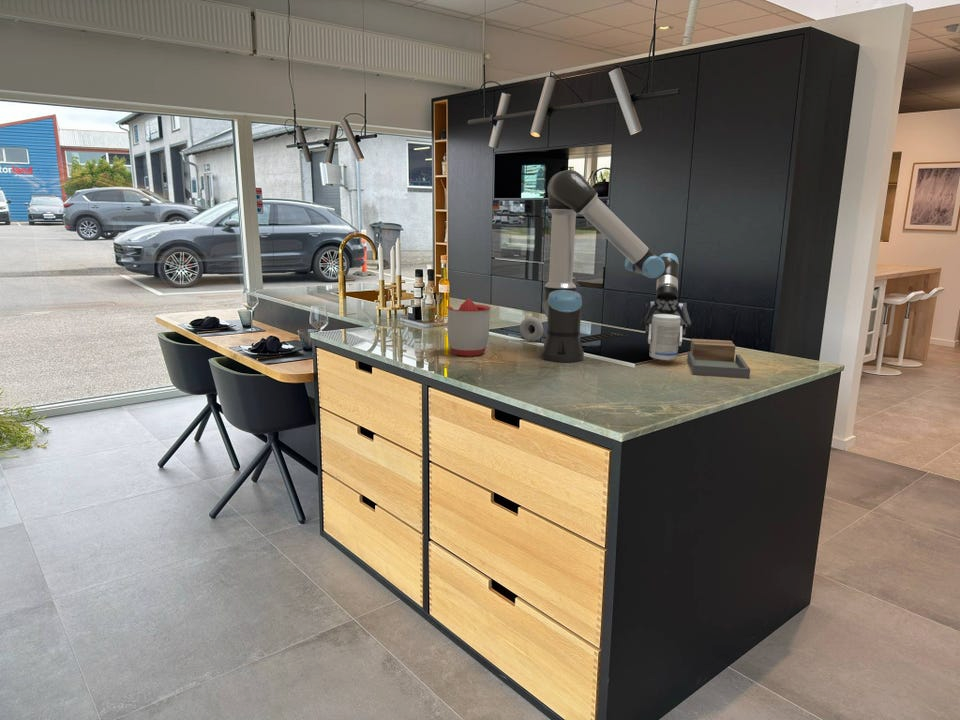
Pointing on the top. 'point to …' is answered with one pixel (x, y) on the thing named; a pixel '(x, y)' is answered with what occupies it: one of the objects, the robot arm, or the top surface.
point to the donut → (537, 326)
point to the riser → (713, 350)
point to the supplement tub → (664, 336)
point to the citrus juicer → (468, 328)
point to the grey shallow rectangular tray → (719, 367)
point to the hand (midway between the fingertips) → (664, 342)
